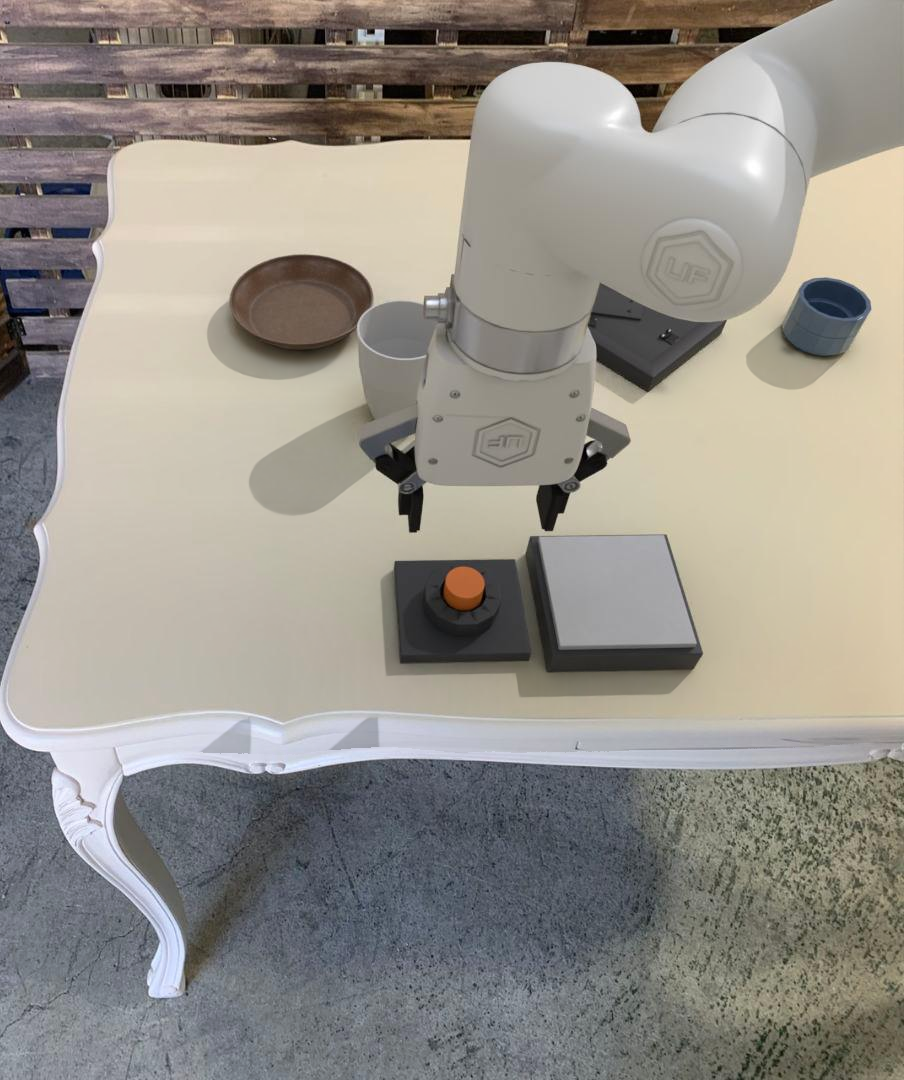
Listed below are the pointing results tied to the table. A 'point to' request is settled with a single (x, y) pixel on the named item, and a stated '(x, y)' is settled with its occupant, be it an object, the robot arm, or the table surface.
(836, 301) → the blue round container
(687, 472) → the table surface
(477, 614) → the panel
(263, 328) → the saucer
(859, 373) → the table surface
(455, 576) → the button
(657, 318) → the picture frame
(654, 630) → the scale
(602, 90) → the robot arm
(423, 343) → the cup
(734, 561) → the table surface
